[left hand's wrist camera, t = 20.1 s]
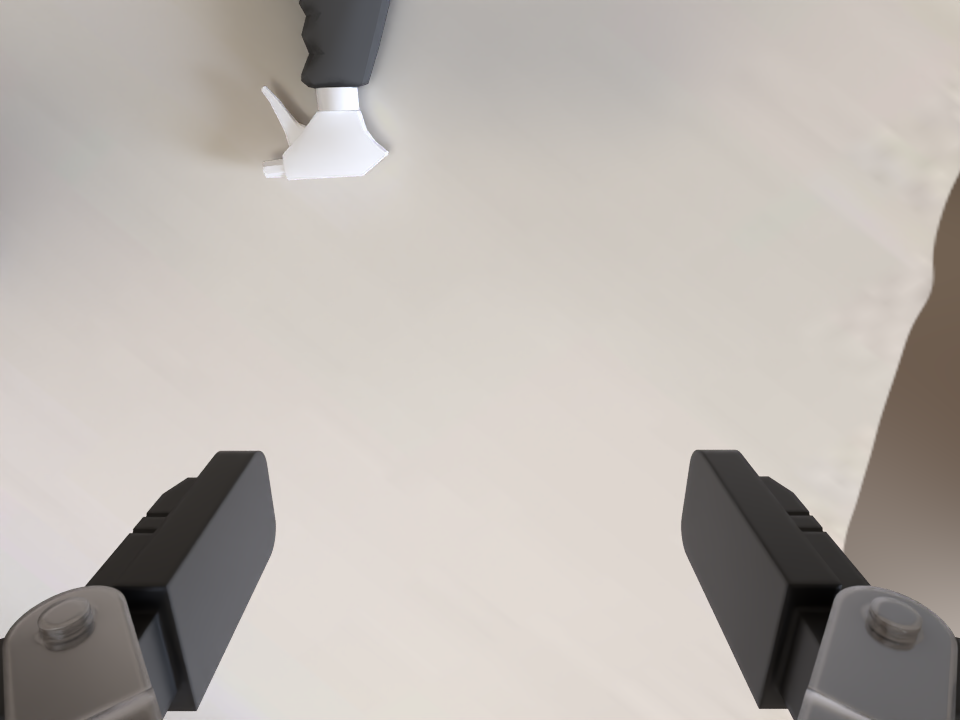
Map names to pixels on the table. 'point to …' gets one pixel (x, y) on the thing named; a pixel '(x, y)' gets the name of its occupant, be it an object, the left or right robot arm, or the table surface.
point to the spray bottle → (333, 92)
